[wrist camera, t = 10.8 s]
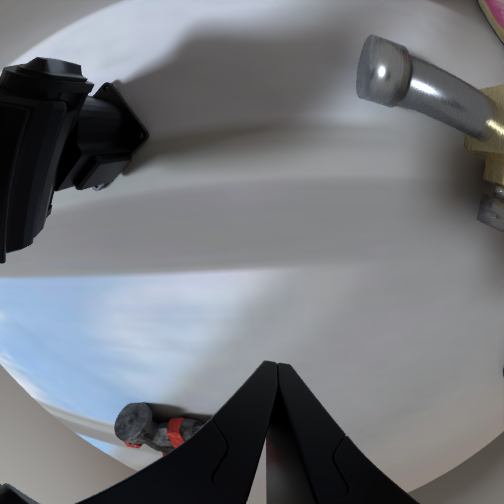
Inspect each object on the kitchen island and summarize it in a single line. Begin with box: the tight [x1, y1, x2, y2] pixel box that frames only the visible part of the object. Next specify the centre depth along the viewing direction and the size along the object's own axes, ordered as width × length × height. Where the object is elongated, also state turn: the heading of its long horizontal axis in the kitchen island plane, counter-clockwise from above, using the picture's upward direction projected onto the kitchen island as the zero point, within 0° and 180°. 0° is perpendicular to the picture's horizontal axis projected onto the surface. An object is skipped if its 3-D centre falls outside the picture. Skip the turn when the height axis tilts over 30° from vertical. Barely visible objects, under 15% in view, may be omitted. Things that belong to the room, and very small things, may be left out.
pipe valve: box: [356, 35, 504, 200], centre depth 12 cm, size 18×8×5 cm, turn 82°
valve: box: [114, 402, 203, 456], centre depth 28 cm, size 6×26×15 cm
